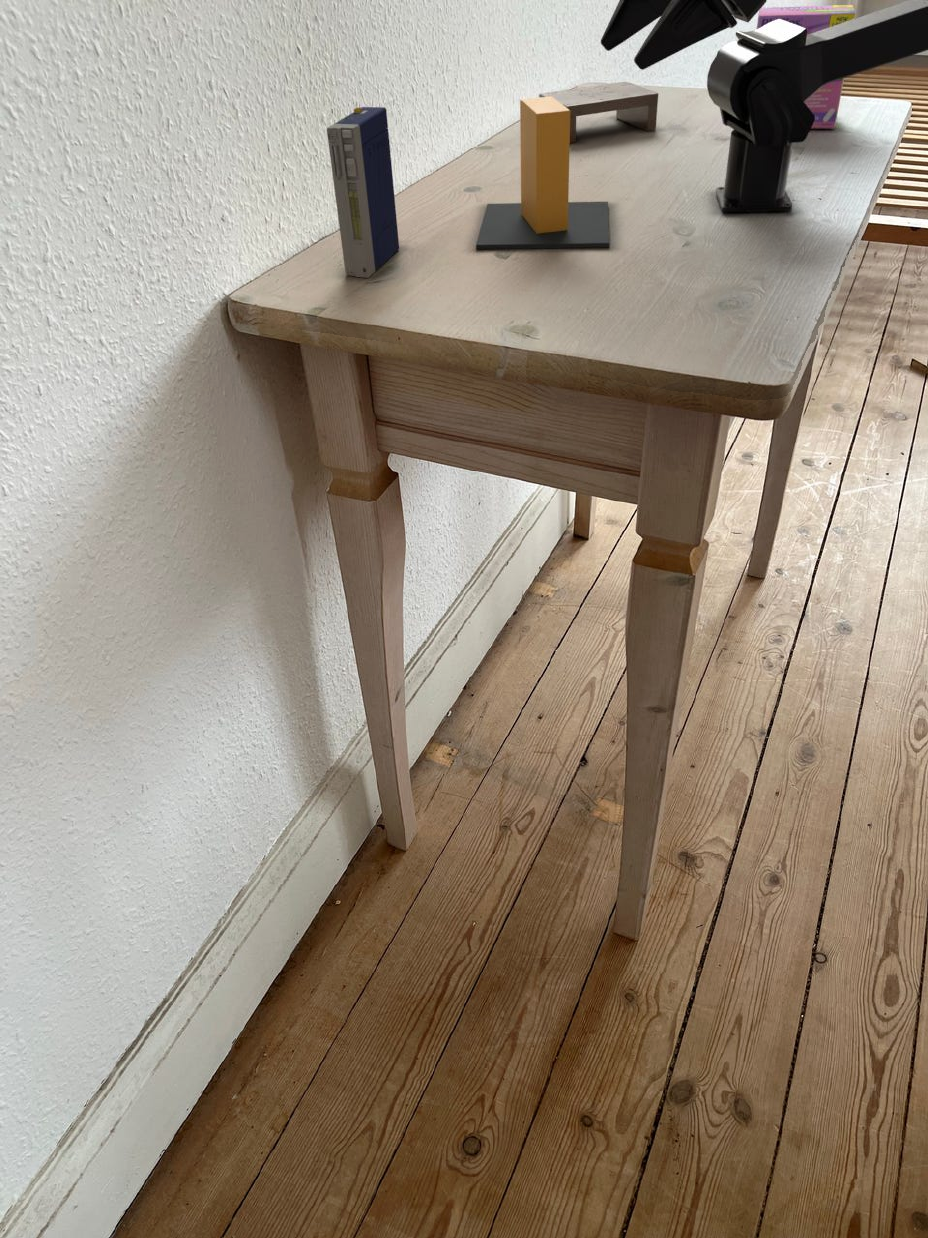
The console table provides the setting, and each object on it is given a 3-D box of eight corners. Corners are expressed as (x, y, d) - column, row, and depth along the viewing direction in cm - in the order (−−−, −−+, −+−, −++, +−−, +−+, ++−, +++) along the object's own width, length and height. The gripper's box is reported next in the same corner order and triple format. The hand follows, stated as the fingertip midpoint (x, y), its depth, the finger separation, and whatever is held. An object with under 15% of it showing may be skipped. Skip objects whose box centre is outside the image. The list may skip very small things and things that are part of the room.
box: (743, 129, 112) (758, 13, 104) (744, 118, 116) (759, 5, 109) (835, 130, 110) (857, 11, 102) (832, 118, 114) (853, 3, 106)
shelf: (655, 129, 114) (658, 92, 112) (566, 143, 111) (567, 106, 109) (624, 116, 120) (626, 81, 117) (538, 129, 117) (539, 93, 115)
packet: (550, 210, 91) (552, 95, 85) (567, 230, 87) (570, 110, 80) (521, 214, 91) (519, 98, 84) (536, 233, 86) (536, 113, 80)
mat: (609, 247, 84) (609, 242, 84) (476, 249, 85) (476, 244, 85) (607, 205, 93) (607, 201, 93) (487, 207, 94) (487, 203, 94)
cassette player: (376, 247, 87) (361, 102, 79) (400, 248, 86) (386, 103, 79) (344, 276, 82) (324, 124, 74) (369, 278, 81) (351, 125, 73)
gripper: (658, -202, 78) (529, -31, 84) (753, -211, 64) (590, -4, 70) (734, -90, 84) (609, 62, 90) (837, -76, 70) (680, 104, 76)
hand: (620, 55), depth 81 cm, fingers open, 9 cm apart
